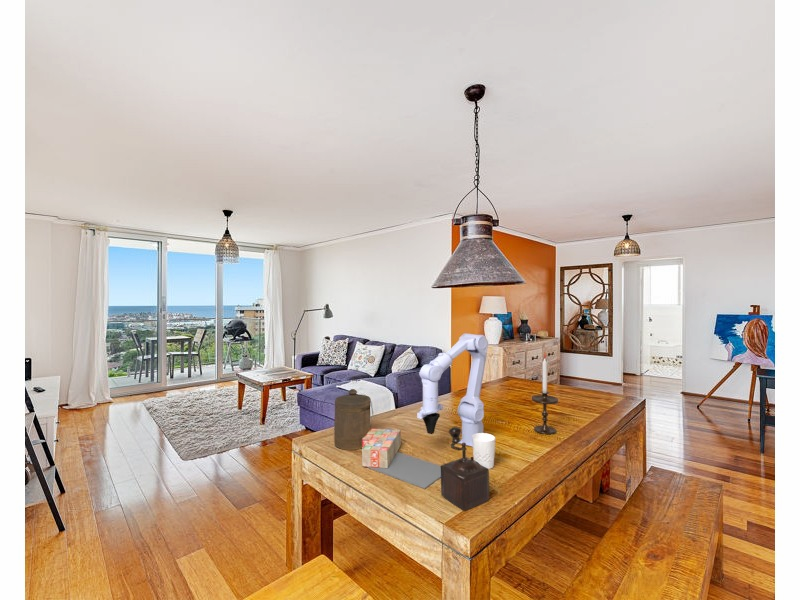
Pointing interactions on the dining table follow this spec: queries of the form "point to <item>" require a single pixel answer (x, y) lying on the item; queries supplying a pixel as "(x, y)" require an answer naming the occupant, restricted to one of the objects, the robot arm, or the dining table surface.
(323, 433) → the dining table surface
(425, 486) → the mat
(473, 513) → the dining table surface
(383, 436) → the stack of blocks
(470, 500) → the coffee grinder
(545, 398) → the candlestick
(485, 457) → the white cup
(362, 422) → the wooden container
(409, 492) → the dining table surface
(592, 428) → the dining table surface
